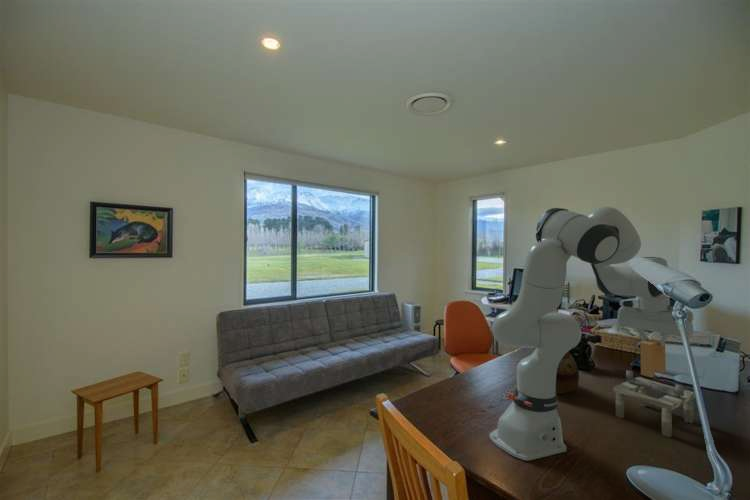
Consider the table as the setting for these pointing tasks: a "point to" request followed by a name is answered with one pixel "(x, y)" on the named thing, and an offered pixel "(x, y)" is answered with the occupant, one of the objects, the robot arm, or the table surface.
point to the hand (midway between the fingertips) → (652, 344)
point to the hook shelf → (667, 403)
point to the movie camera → (585, 351)
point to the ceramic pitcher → (566, 374)
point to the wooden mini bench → (652, 357)
